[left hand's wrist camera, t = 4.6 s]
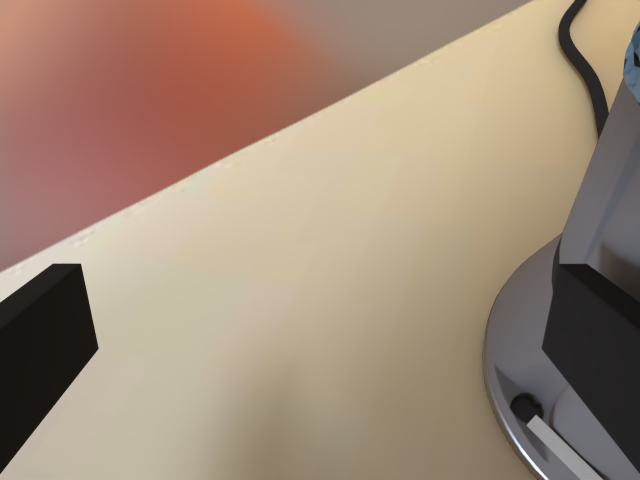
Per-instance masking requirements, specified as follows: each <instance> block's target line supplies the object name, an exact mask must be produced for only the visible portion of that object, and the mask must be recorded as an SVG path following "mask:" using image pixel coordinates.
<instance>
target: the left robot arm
mask: <svg viewBox="0 0 640 480" xmlns="http://www.w3.org/2000/svg"><path fill="white" fill-rule="evenodd" d="M585 2H586V0H575V1H574V2H573V4H572V5H571V6H570V7H569V9H568V10H567V11H566V13H565V14H564V16H563V17H562V19H561V22H560V25H559V41H560V45H561V47H562V49H563V51H564V53H565V54H566V56H567V57H568V58H569V60H570V61H571V62H572V63H573V65H574V66H575V67H576V68H577V70H578V71H579V72H580V74H581V75H582V77H583V79H584V80H585V82H586V84H587V87H588V89H589V92H590V95H591V98H592V102H593V107H594V112H595V118H596V124H597V131H598V137H599V141H598V143H597V146H596V148H595V151H594V153H593V156H592V159H591V161H590V164H589V166H588V169H587V171H586V174H585V176H584V179H583V181H582V184H581V187H580V189H579V192H578V194H577V197H576V199H575V202H574V204H573V207H572V210H571V212H570V215H569V217H568V220H567V223H566V225H565V228H564V230H563V233H561V234H560V235H559V236H557V237H556V238H555V239H553V240H552V241H551V242H549V243H548V244H547V245H545V246H544V247H543V248H541V249H540V250H539V251H537V252H536V253H535V254H533V255H532V256H531V257H529V258H528V259H527V260H526V261H525V262H524V263H522V264H521V265H520V266H519V267H518V268H517V270H516V271H515V272H514V273H513V274H512V275H511V277H510V278H509V279H508V281H507V282H506V283H505V285H504V286H503V287H502V289H501V291H500V292H499V294H498V296H497V298H496V300H495V302H494V304H493V307H492V309H491V312H490V315H489V319H488V322H487V327H486V331H485V337H484V342H483V355H482V357H483V373H484V380H485V386H486V390H487V394H488V398H489V401H490V404H491V406H492V409H493V412H494V414H495V417H496V419H497V421H498V423H499V426H500V428H501V429H502V431H503V433H504V435H505V437H506V438H507V440H508V442H509V444H510V445H511V446H512V448H513V449H514V451H515V452H516V454H517V455H518V457H519V458H520V459H521V461H522V462H523V463H524V464H525V466H526V467H527V468H528V470H529V471H530V472H531V473H532V474H533V475H534V476H535V477H536V478H537V480H640V21H639V23H638V25H637V27H636V28H635V30H634V33H633V36H632V40H631V42H630V44H629V46H628V48H627V50H626V55H625V61H624V71H623V79H622V82H621V84H620V87H619V90H618V92H617V95H616V97H615V100H614V102H613V105H612V107H611V110H610V113H609V112H608V107H607V102H606V98H605V95H604V91H603V88H602V86H601V83H600V81H599V79H598V76H597V75H596V73H595V71H594V70H593V68H592V67H591V66H590V64H589V63H588V62H587V61H586V59H585V58H584V57H583V56H582V55H581V53H580V52H579V51H578V50H577V48H576V47H575V45H574V44H573V42H572V39H571V37H570V32H569V28H570V24H571V22H572V20H573V18H574V16H575V15H576V13H577V12H578V11H579V9H580V8H581V7H582V6H583V4H584V3H585ZM98 349H99V348H98V343H97V339H96V334H95V329H94V324H93V319H92V315H91V310H90V305H89V300H88V295H87V291H86V286H85V281H84V276H83V271H82V266H81V264H52V265H51V266H49V267H48V268H46V269H45V270H44V271H42V272H41V273H40V274H38V275H37V276H36V277H34V278H33V279H32V280H30V281H29V282H27V283H26V284H25V285H23V286H22V287H21V288H19V289H18V290H17V291H15V292H14V293H13V294H11V295H10V296H8V297H7V298H6V299H4V300H3V301H2V302H0V474H1V472H2V471H3V470H4V469H5V467H6V466H7V465H8V463H9V462H10V461H11V460H12V458H13V457H14V456H15V455H16V453H17V452H18V451H19V449H20V448H21V447H22V446H23V444H24V443H25V442H26V441H27V439H28V438H29V437H30V435H31V434H32V433H33V432H34V430H35V429H36V428H37V427H38V425H39V424H40V423H41V421H42V420H43V419H44V418H45V416H46V415H47V414H48V413H49V411H50V410H51V409H52V407H53V406H54V405H55V404H56V402H57V401H58V400H59V399H60V397H61V396H62V395H63V393H64V392H65V391H66V390H67V388H68V387H69V386H70V385H71V383H72V382H73V381H74V379H75V378H76V377H77V376H78V374H79V373H80V372H81V371H82V369H83V368H84V367H85V365H86V364H87V363H88V362H89V360H90V359H91V358H92V357H93V355H94V354H95V353H96V351H97V350H98Z"/></svg>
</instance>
